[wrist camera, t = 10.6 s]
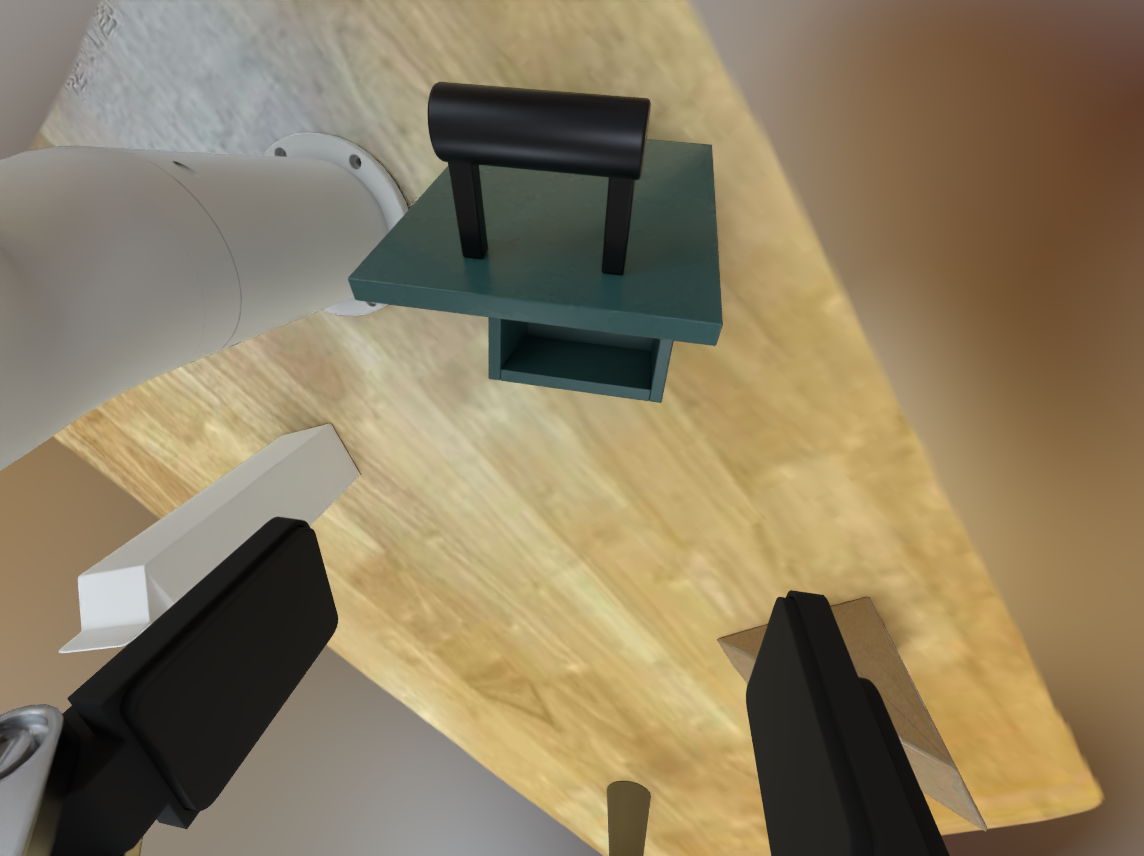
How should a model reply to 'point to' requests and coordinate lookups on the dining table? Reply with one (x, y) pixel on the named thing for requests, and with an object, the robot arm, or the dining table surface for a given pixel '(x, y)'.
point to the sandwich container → (899, 695)
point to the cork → (627, 818)
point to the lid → (556, 218)
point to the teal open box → (578, 359)
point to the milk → (208, 534)
